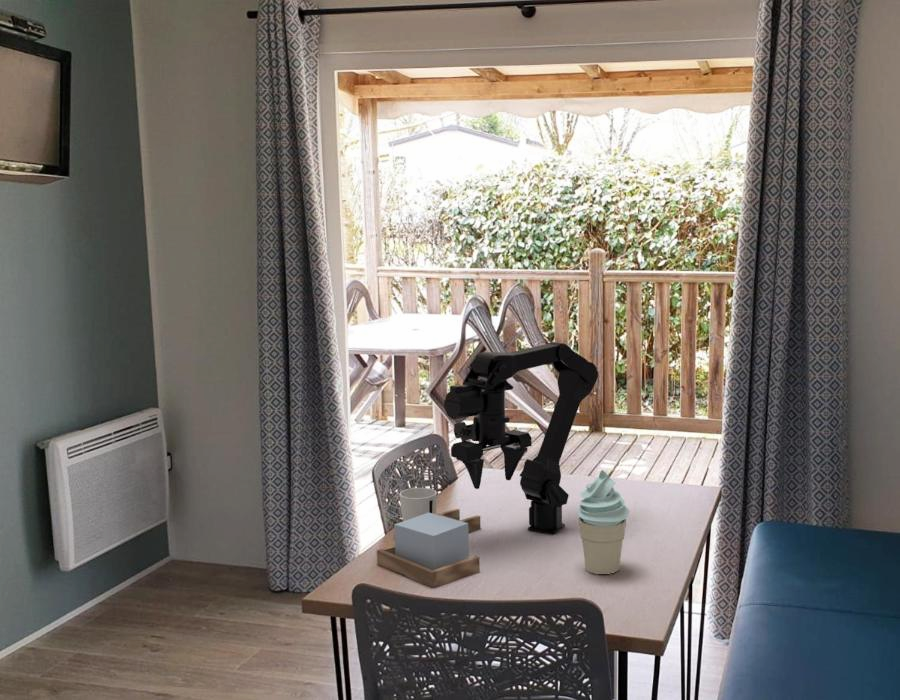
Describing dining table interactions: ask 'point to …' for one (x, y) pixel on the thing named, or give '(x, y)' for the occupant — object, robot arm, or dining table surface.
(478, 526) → the narrow slot
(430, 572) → the bay
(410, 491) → the cup
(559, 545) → the dining table surface
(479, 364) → the robot arm
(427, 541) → the tea caddy
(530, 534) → the dining table surface
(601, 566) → the ice cream cone
